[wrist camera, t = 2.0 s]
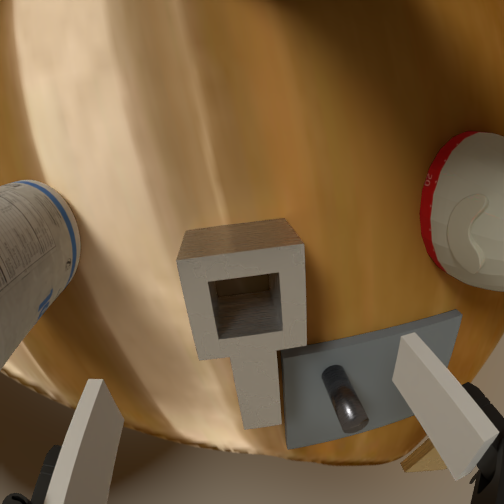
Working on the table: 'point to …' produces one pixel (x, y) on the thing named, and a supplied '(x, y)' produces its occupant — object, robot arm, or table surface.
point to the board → (355, 377)
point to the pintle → (344, 399)
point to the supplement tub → (32, 257)
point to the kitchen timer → (467, 209)
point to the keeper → (424, 459)
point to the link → (246, 306)
